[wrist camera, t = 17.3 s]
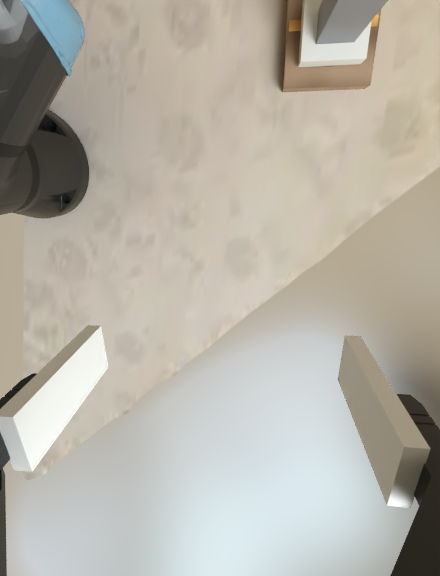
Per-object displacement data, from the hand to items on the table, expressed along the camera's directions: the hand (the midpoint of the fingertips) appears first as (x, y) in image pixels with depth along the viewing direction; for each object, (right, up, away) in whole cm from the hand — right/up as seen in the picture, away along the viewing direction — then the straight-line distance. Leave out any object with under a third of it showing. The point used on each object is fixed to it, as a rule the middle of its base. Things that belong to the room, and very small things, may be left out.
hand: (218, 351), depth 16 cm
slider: (+13, +32, +17) cm, 39 cm away
